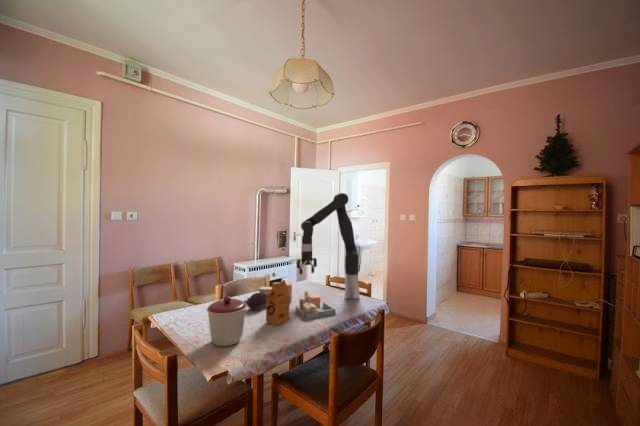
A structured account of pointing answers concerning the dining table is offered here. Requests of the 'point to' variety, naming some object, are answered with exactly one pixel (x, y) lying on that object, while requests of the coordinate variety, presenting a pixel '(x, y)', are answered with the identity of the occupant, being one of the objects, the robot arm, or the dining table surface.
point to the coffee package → (278, 304)
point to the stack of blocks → (268, 289)
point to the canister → (226, 321)
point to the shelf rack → (317, 314)
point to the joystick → (312, 299)
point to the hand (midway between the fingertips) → (306, 273)
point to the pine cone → (256, 300)
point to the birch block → (307, 307)
